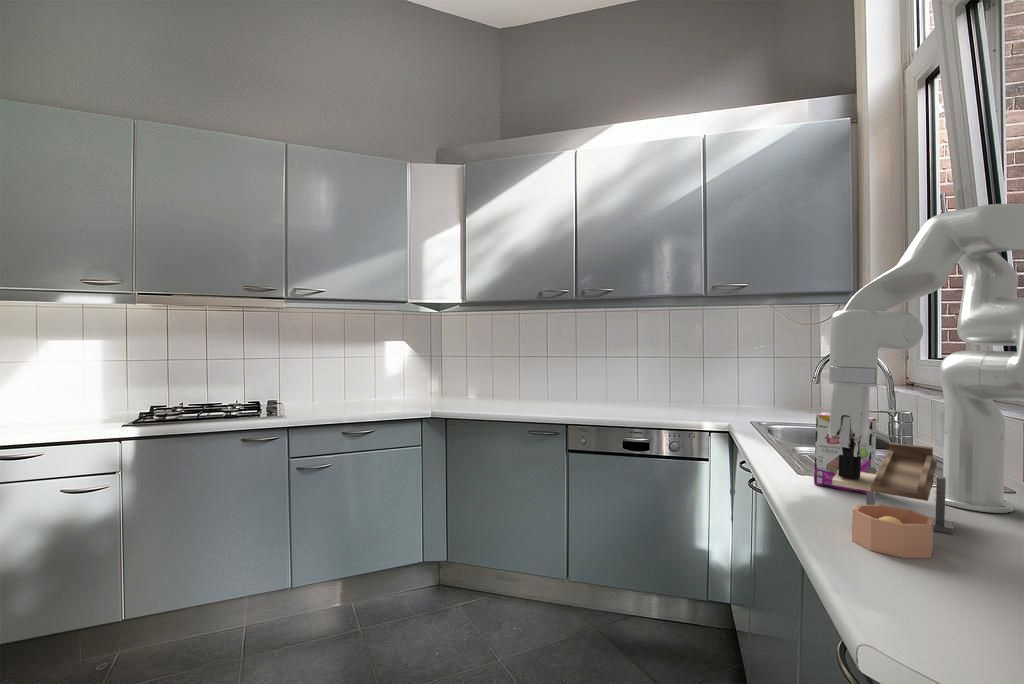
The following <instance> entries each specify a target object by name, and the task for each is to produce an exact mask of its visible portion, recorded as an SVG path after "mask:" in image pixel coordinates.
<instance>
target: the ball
mask: <svg viewBox="0 0 1024 684" xmlns="http://www.w3.org/2000/svg"><path fill="white" fill-rule="evenodd" d="M879 519H881V520H886V521H891V522H896V523H901V522H900V521H899V520H898V519H896V518H894V517H891V516H884V517H881V518H879Z"/></svg>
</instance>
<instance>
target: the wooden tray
mask: <svg viewBox="0 0 1024 684" xmlns="http://www.w3.org/2000/svg"><path fill="white" fill-rule="evenodd" d="M933 453H934V448H933V447H932V446H924V445H923V446H922V445H915V444H906V443H899V442H898V443H897V442H889V444H888V452H887V453H885V455H884V458H883V460H882V462H881V464H880V466H879V468H878V470H877V471H876V474H871V473H864V472H860V478H859V479H851V478H845V477H840V476H839V475H838V472H839V470H838V471H837V473H836V474H835V476H834V478H833V479H832V485H836V486H842V487H848V488H854V489H860V490H866V491H872V492H876V493H879V494H884V495H890V496H896V497H901V498H909V499H915V500H919V501H926V502H929V498H930V494H931V491H932V489H933V486H934V485H933V484H934V478H935V475H936V470H937V465H938V460H936V459H934V458H933V457H934V456H933V455H934V454H933Z"/></svg>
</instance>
